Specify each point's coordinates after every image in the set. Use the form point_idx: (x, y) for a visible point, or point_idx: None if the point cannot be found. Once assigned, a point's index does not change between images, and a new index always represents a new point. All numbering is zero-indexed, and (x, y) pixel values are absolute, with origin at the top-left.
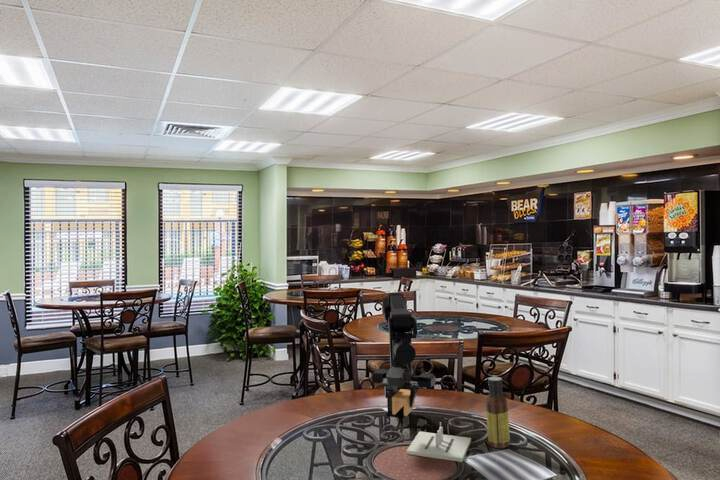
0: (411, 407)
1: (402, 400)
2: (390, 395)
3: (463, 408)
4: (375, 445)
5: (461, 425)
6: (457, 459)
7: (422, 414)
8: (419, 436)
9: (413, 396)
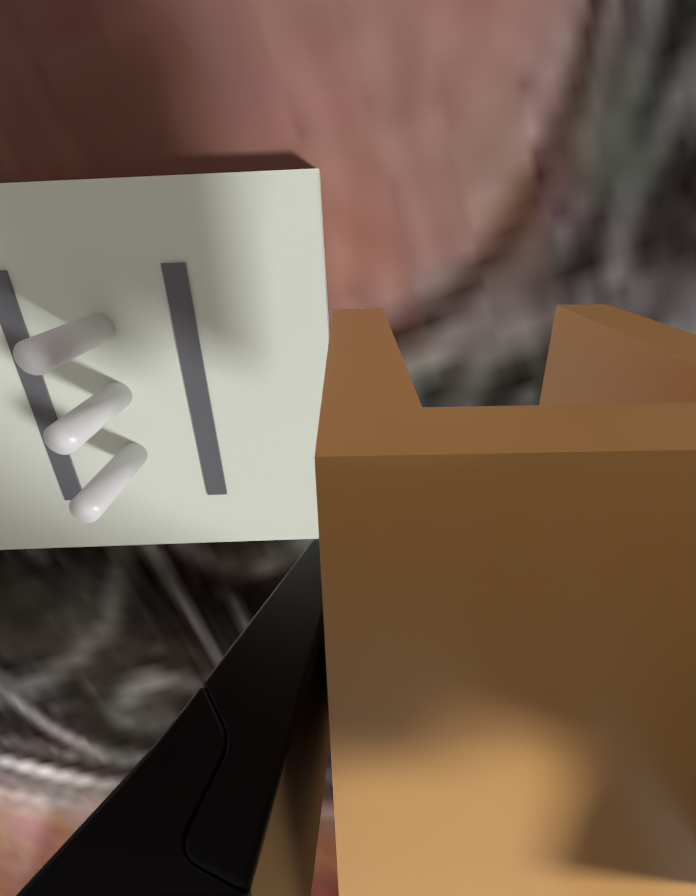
0: (312, 540)
1: (470, 418)
2: None
3: None
4: (625, 242)
5: (154, 690)
6: None
7: None
8: (311, 465)
9: (182, 729)
